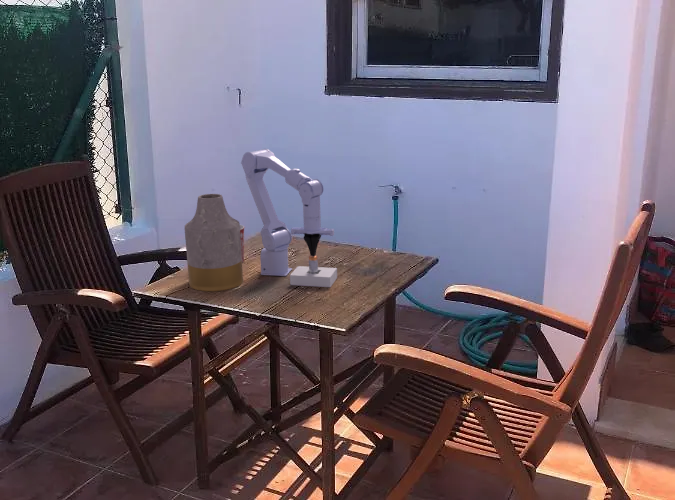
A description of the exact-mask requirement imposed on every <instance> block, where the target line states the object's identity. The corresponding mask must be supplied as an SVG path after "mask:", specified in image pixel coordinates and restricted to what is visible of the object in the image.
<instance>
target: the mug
mask: <svg viewBox="0 0 675 500" xmlns="http://www.w3.org/2000/svg"><path fill="white" fill-rule="evenodd" d="M245 228H246V227H245V226H244V225H243V224H240V237H241V254H242V264H244V262H245Z"/></svg>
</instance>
